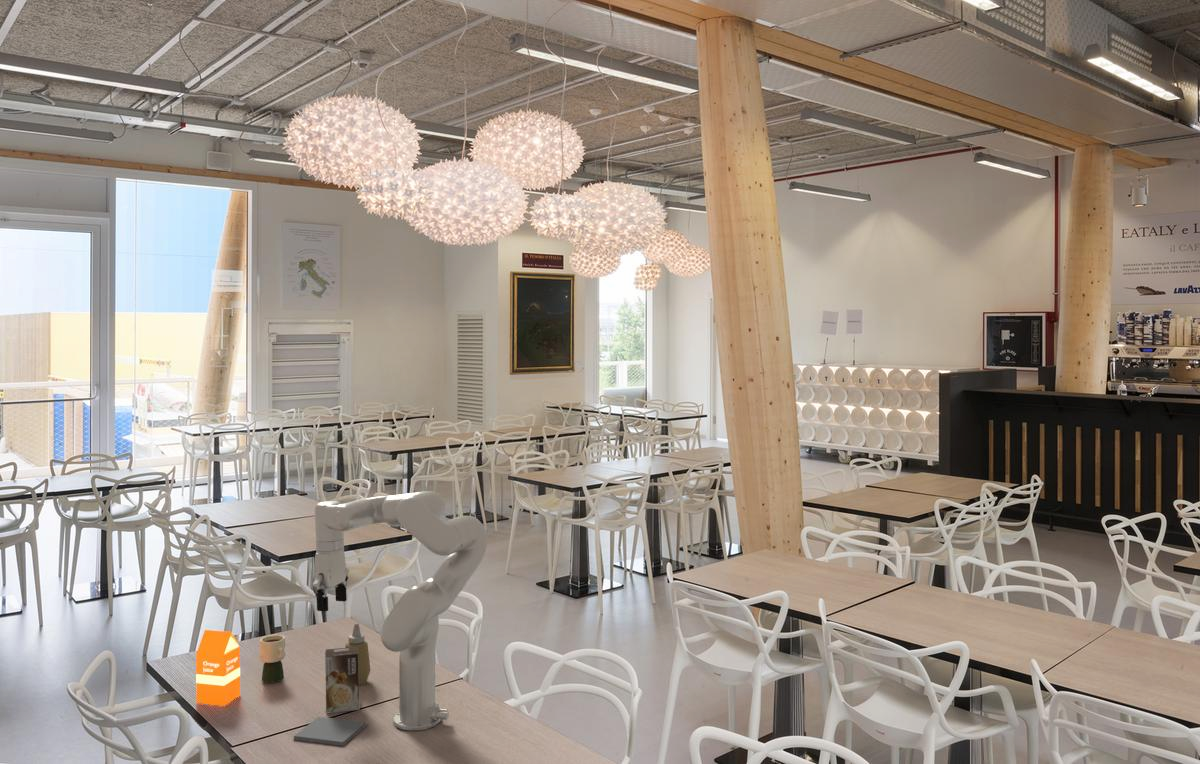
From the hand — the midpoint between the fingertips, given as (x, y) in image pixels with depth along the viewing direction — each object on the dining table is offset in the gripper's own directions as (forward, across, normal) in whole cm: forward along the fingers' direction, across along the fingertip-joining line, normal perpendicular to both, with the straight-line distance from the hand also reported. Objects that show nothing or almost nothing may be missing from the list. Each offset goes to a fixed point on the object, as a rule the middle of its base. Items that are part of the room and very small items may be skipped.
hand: (332, 605), depth 246 cm
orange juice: (+27, +6, -34) cm, 43 cm away
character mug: (+27, -10, -27) cm, 40 cm away
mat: (+28, +16, +8) cm, 34 cm away
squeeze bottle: (+28, -15, -2) cm, 32 cm away
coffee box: (+28, +2, +3) cm, 29 cm away
